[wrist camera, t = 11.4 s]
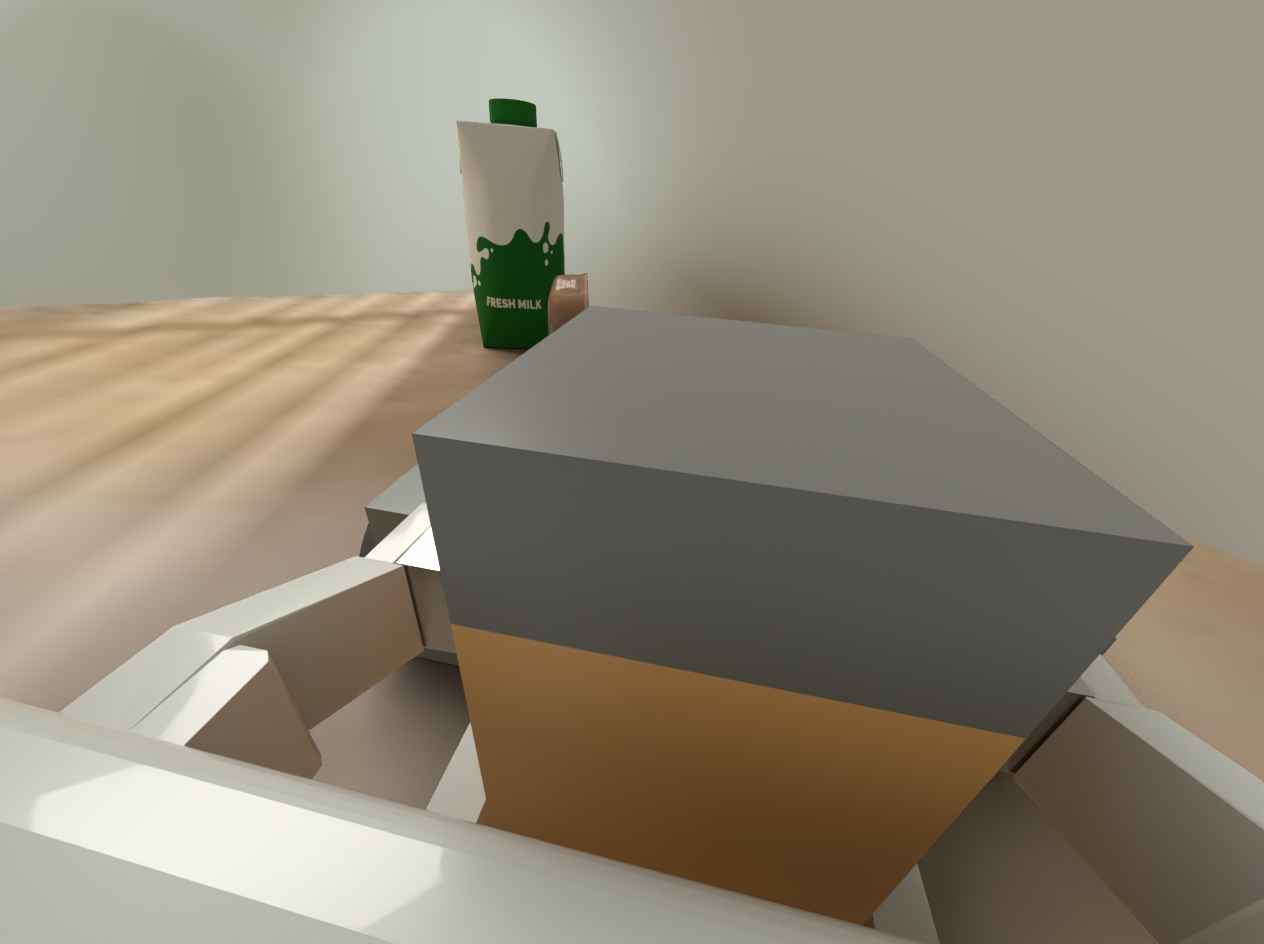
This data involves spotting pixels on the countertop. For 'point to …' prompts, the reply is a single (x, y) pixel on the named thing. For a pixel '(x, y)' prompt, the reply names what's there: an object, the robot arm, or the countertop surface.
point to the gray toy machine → (462, 777)
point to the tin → (566, 299)
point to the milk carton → (512, 221)
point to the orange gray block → (763, 595)
